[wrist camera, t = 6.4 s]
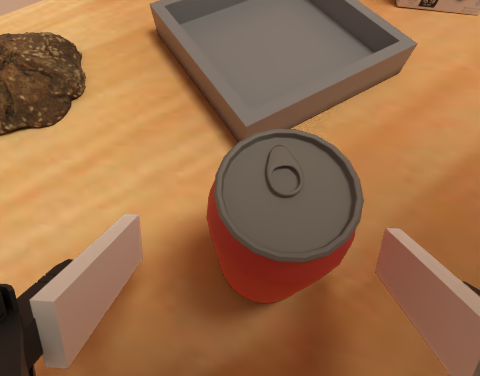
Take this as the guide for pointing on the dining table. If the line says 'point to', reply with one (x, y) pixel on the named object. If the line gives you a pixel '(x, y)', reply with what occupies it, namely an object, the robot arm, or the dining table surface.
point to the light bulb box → (444, 5)
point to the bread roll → (37, 79)
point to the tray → (279, 55)
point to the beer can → (282, 212)
